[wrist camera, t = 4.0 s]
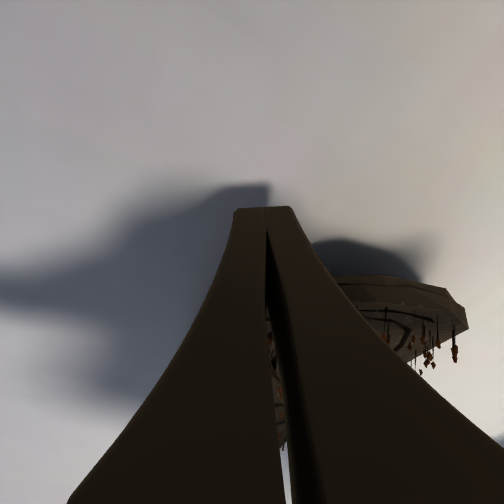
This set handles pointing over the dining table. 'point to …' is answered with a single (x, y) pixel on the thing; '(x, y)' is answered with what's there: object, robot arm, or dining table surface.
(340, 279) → the hairbrush
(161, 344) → the dining table surface
